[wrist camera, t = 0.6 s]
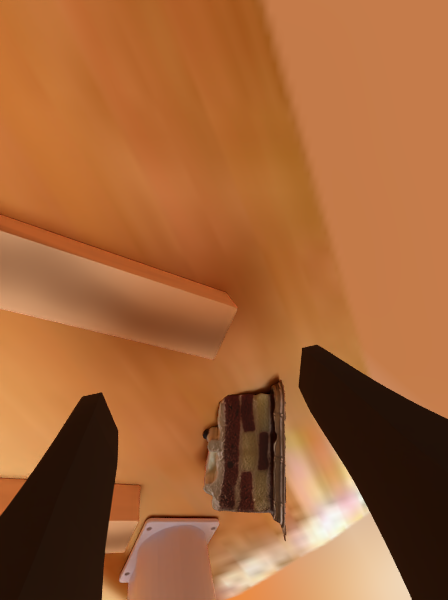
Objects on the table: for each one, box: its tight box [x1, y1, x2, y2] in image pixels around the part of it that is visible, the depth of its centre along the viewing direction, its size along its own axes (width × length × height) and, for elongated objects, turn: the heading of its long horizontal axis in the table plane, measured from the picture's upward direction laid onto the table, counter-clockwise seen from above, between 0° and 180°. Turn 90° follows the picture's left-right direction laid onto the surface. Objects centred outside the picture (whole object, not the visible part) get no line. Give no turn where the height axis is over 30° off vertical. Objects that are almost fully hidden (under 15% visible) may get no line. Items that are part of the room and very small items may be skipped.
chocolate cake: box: [203, 380, 286, 541], centre depth 25 cm, size 10×7×12 cm
